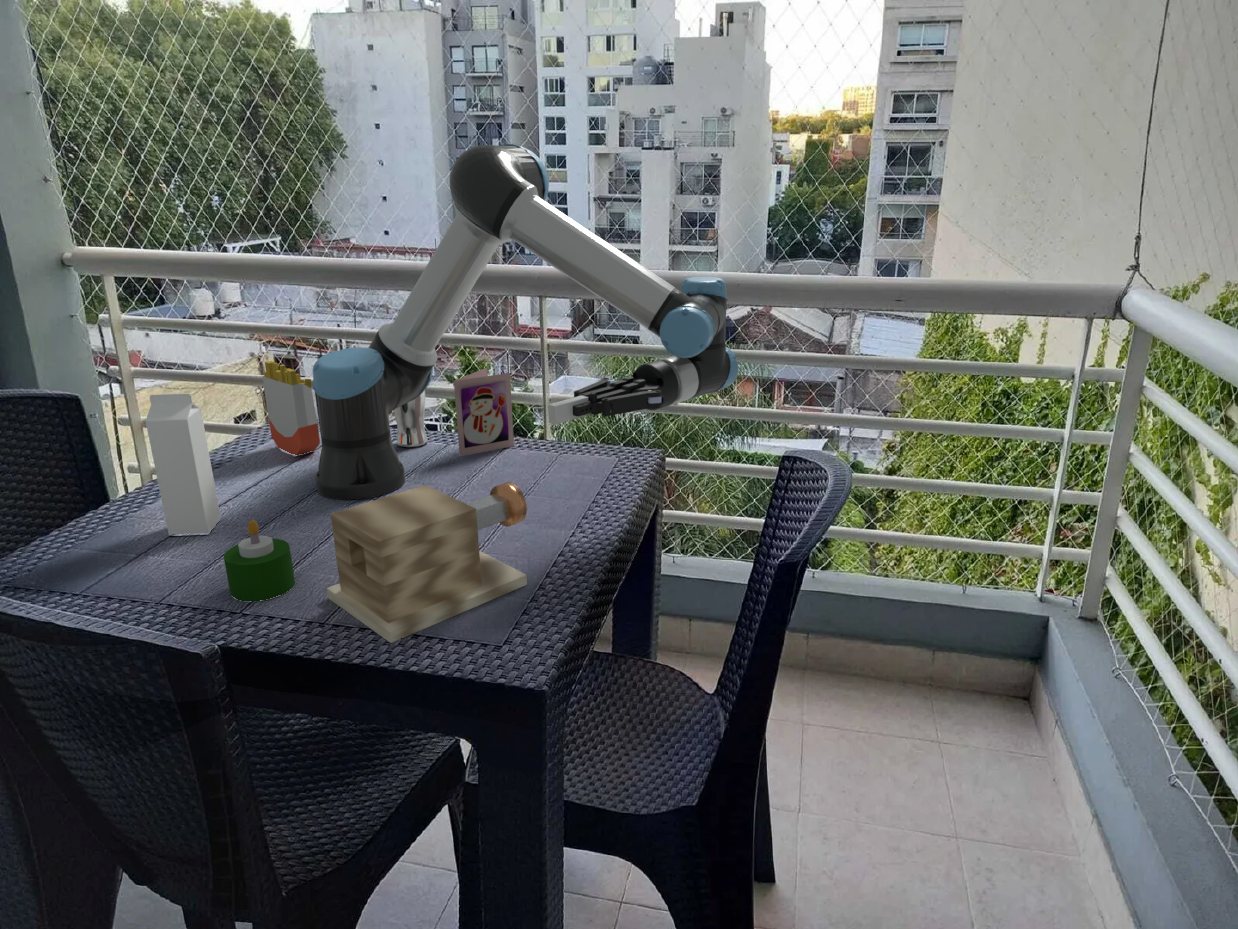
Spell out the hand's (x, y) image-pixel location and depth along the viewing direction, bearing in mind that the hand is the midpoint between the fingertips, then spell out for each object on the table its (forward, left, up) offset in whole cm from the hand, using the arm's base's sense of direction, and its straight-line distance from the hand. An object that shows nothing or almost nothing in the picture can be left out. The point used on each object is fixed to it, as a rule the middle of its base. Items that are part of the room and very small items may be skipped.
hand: (551, 414), depth 126 cm
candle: (-29, -30, -20) cm, 46 cm away
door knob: (-5, -14, -14) cm, 21 cm away
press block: (-8, -21, -20) cm, 30 cm away
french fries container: (-67, +15, -20) cm, 72 cm away
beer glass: (-49, +28, -20) cm, 60 cm away
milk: (-54, -20, -20) cm, 61 cm away
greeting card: (-35, +32, -20) cm, 52 cm away
